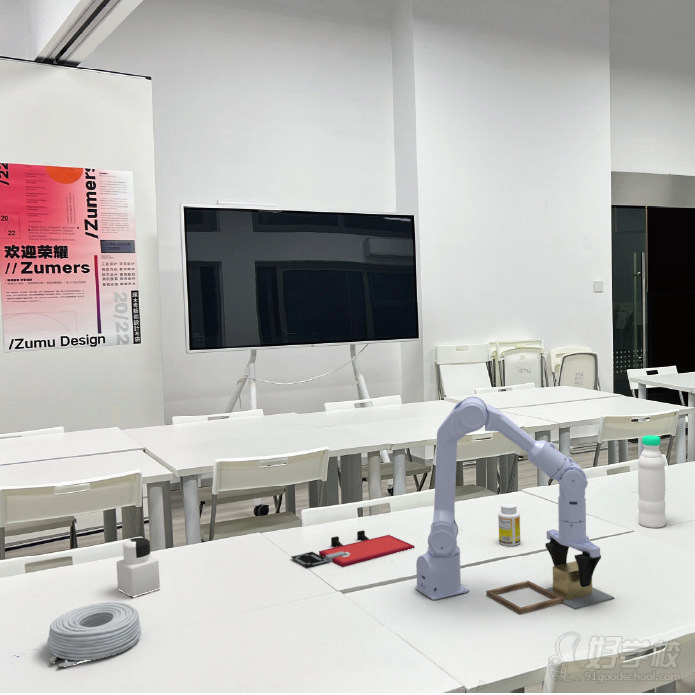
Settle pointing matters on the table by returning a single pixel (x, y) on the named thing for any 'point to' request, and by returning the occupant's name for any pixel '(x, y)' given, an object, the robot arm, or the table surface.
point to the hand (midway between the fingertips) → (572, 580)
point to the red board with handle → (355, 550)
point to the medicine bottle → (137, 568)
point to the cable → (93, 632)
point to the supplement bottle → (509, 525)
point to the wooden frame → (529, 608)
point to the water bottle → (651, 484)
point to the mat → (586, 599)
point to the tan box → (569, 581)
